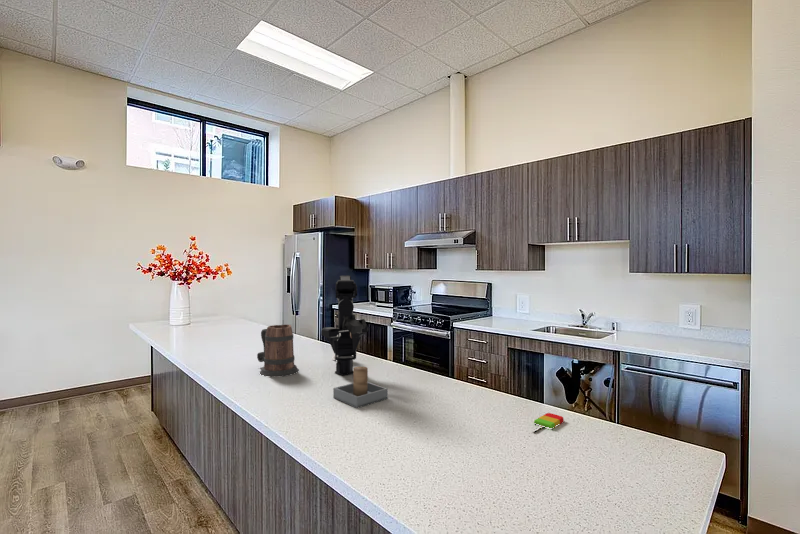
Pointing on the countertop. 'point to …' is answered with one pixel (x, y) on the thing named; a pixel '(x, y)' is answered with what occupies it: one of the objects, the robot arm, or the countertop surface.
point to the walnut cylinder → (360, 381)
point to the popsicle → (549, 420)
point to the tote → (373, 395)
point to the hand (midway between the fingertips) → (345, 351)
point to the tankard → (277, 351)
